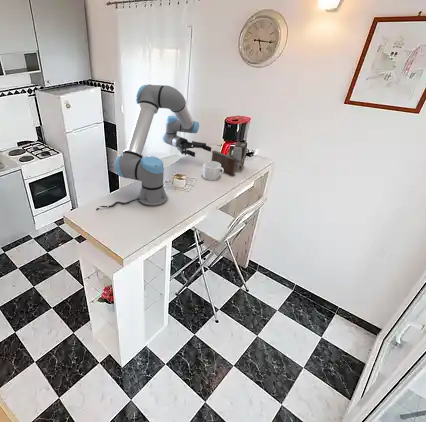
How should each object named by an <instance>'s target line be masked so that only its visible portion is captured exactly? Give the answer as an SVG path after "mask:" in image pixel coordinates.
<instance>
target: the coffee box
mask: <svg viewBox="0 0 426 422" xmlns="http://www.w3.org/2000/svg"><path fill="white" fill-rule="evenodd" d="M247 149H248V142H240V141H237V142H236V143H235V144H234V146H233V151H232V156H231V157H233V158H235V159H237V161H236V167H235V172H238V173H240V172H242V169H243V168H244V166H245V161H246V155H247Z"/></svg>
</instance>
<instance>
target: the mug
mask: <svg viewBox="0 0 426 422" xmlns="http://www.w3.org/2000/svg"><path fill="white" fill-rule="evenodd" d="M202 167H203V168H202V178H203V179H205V180H208V181H215V180H216V181H217V180H218V179H220V176H221V175H223V174H224V169H223V168H222V167H221V164H220V163H219V162H215V161H212V160H207V161H205V162H204V163H203V166H202ZM221 169H222V172H221V171H220V170H221Z"/></svg>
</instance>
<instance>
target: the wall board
mask: <svg viewBox="0 0 426 422" xmlns="http://www.w3.org/2000/svg"><path fill="white" fill-rule="evenodd" d="M211 161H215V162H219V163H220V164H221V167H222V168H223V169H224V172H223V174H226V175H228V176H230V177H233V176H236V173H235V172H236V171H235V167H236V161H237V159H235V158H233V157H232V156H230V155H227V154H225V153H223V152H220V151H218V150H215V149H214V150H211ZM220 173H222V169H221V170H220Z"/></svg>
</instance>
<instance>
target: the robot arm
mask: <svg viewBox="0 0 426 422" xmlns="http://www.w3.org/2000/svg"><path fill="white" fill-rule="evenodd" d="M135 97H136V99H135V102H136V105H137V108H138V112H137V116H136V119H135V122H134V124H133V125H134V126H133V129H132V132H131V135H130V138H129V141H128V144H127V148H126V149H124V150H123V152H122V154H120V155H118V156H117V157H116V159H115V162H114V168H115V172H116V174H117V176H118V177H121V178H124V179H130V180H134V181H139V182H141V187H140V190H139V193H138V198H134V199H131V200H128V201H126V202H122V201H115V202H114V203H113V204H111V205H101V206H100V205H99V207H102V208H113V207H114V206H116V204H121V205H127V204H130V203H133V202H136V201H139V203H141V204H143V205H145V206H150V207H151V206H152V207H153V206H154V207H155V206H161V205H162V204H164V203H165V202H166V201H167V193H166V191H165V188H164V187H165V186H164V171H165V167H164V162H163V160H162V159H161V158H159V157H157V156H154V155H146V156H144V155H143V151H144V148H145V145H146V141H147V139H148V135H149V132H150V130H151V129H150V128H151V126H152V123H153V120H154V115H156V114H158V112H159V109H167V110H169V111H171V112H172V113H174V115H168V116H167V117H166V122H165V133H163V135H162V142H164V143H165V144H166V145H169V146H171V147H174V148H176V149H177V150H178V151H179V153H180V154H181V155H184V156H187V155H188V156H190V157H193V158H195V157H196V152H195V151H193V150H190V149H202V150H204V151H207V152H210V153H212V147H211V146H209V145H207V143H206V142H200V141H194V140H192V141H191V142H190V141H189V140H188V139H187V138H186V137H185V138H184V137H182V136H180V135H178V133H187V134H197V133H198V132H199V129H200V122H198V121H195V120H193V118H192V116H191V113H190V111H189V109H188V107H187V101H186V99H185V97H184V95H183V94H182V93H181V92H180V91H179V90H178V89H177V88H175V87H173V86H171V85H166V84H165V85H161V84H143V85H141V86H140V87H139V88H138V89H137V93H136V96H135ZM107 206H109V207H107ZM99 209H100V208H98V207H97V208H96V209H95V211H98V210H99Z"/></svg>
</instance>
